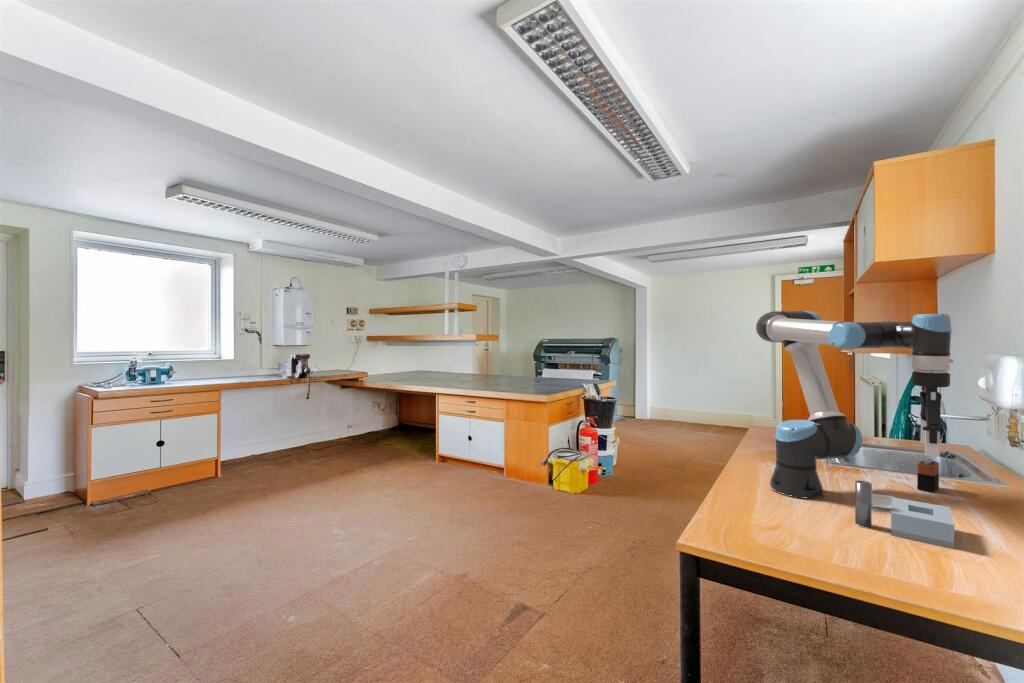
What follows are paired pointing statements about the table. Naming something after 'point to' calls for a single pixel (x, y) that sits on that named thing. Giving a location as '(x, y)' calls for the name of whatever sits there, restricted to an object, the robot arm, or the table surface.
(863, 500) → the pin
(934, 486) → the battery
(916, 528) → the socket block
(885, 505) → the external hard drive
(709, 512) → the table surface
